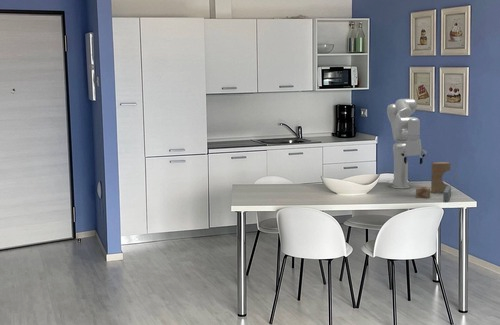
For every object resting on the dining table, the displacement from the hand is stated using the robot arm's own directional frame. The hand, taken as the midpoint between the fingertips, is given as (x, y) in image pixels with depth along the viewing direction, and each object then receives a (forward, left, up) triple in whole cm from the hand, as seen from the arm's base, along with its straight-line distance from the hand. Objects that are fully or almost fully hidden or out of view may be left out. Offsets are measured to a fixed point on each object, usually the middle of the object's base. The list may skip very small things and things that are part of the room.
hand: (413, 163), depth 451 cm
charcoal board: (+22, -2, -21) cm, 31 cm away
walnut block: (+7, -2, -21) cm, 23 cm away
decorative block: (+16, +17, -21) cm, 32 cm away
